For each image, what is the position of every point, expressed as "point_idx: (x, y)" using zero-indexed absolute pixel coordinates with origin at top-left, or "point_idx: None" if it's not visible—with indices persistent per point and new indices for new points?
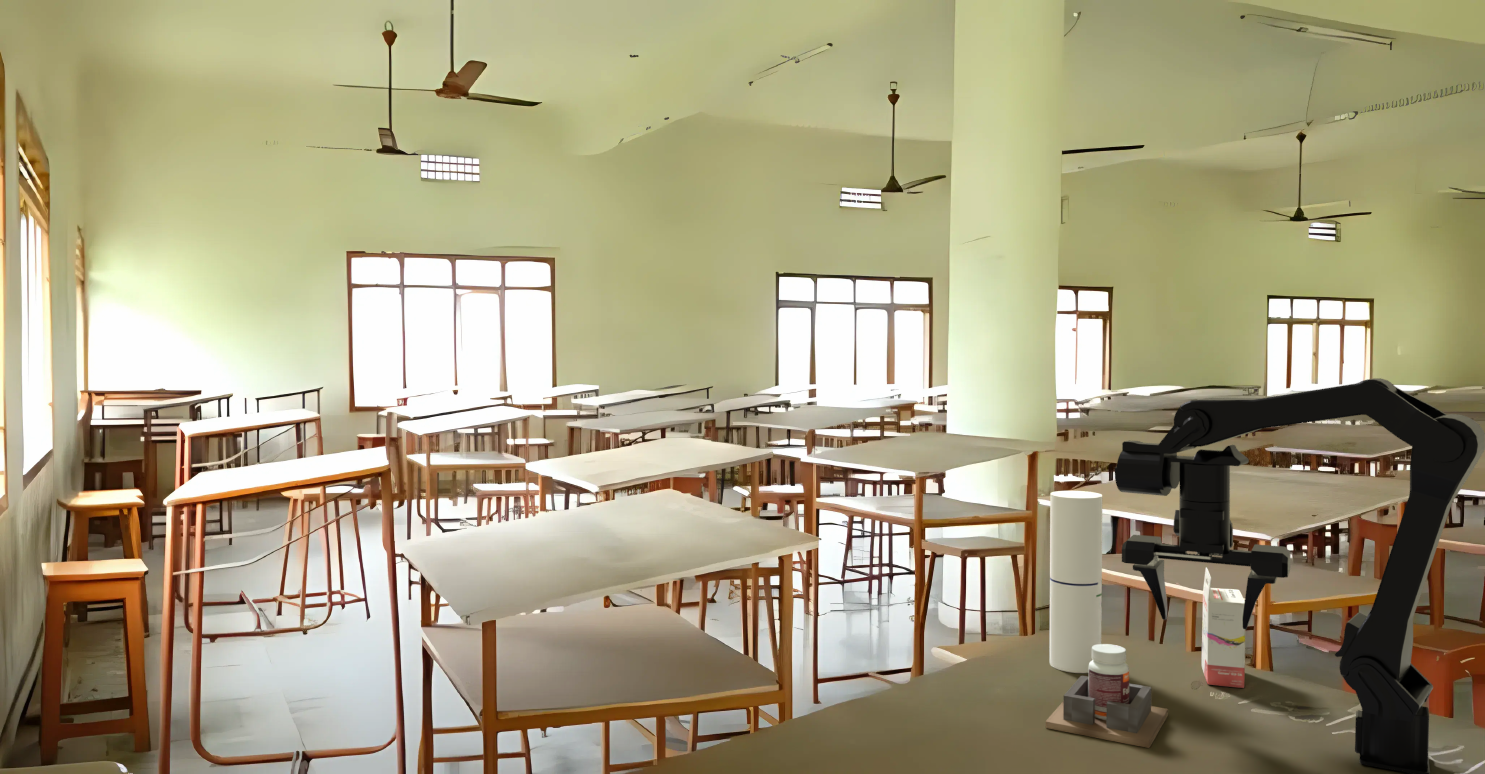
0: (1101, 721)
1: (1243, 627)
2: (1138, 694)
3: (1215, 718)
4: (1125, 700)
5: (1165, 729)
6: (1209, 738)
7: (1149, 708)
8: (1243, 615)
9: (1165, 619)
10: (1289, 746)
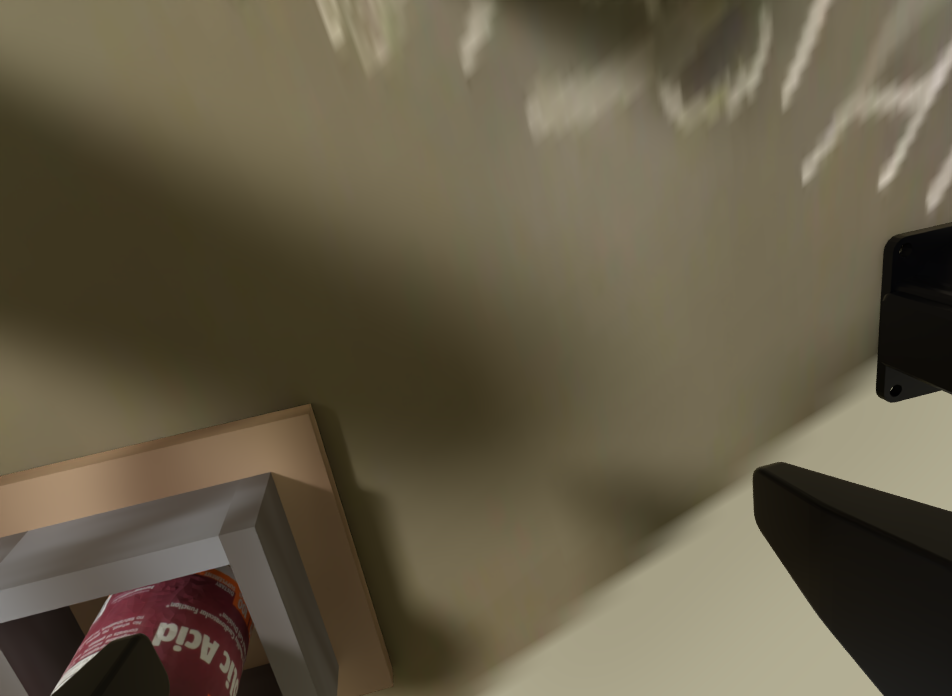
0: None
1: (766, 533)
2: (262, 629)
3: (453, 315)
4: (242, 667)
5: (365, 523)
6: (498, 496)
7: (277, 507)
8: (847, 646)
9: (167, 679)
10: (702, 393)
